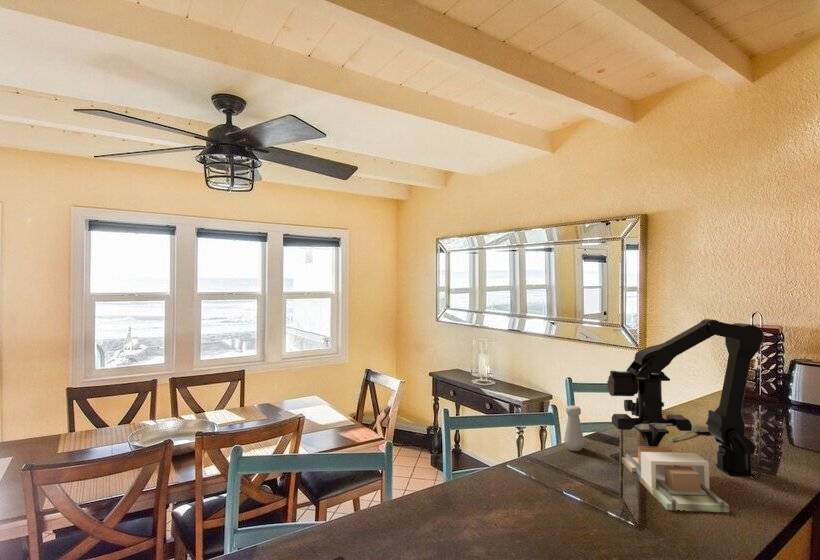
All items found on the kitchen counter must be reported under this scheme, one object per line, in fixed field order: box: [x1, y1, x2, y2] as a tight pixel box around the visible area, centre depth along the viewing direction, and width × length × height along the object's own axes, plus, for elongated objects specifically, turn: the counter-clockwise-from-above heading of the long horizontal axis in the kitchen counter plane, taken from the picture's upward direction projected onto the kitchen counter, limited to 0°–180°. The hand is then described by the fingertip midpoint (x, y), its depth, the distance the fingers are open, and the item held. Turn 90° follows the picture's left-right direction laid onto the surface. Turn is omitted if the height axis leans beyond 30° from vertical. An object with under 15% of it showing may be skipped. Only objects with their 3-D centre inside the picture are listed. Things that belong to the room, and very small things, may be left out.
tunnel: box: [641, 451, 710, 490], centre depth 107 cm, size 13×6×6 cm, turn 84°
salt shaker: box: [563, 404, 585, 452], centre depth 135 cm, size 6×6×13 cm
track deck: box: [621, 454, 730, 513], centre depth 110 cm, size 13×26×2 cm, turn 174°
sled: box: [637, 445, 706, 495], centre depth 110 cm, size 8×18×5 cm, turn 174°
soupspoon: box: [667, 424, 710, 443], centre depth 145 cm, size 22×3×7 cm
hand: (651, 453), depth 120 cm, fingers closed
